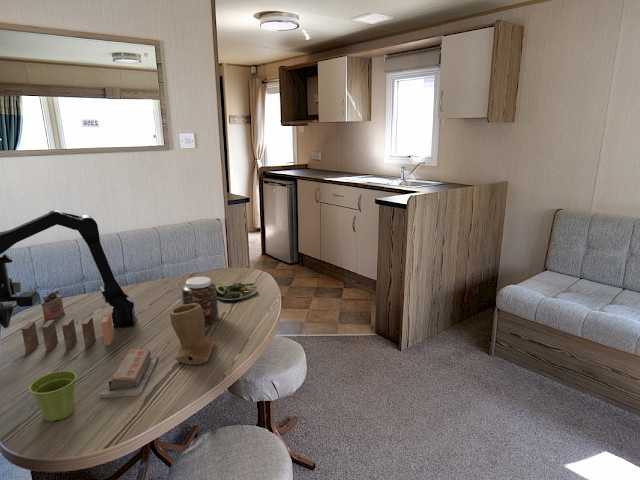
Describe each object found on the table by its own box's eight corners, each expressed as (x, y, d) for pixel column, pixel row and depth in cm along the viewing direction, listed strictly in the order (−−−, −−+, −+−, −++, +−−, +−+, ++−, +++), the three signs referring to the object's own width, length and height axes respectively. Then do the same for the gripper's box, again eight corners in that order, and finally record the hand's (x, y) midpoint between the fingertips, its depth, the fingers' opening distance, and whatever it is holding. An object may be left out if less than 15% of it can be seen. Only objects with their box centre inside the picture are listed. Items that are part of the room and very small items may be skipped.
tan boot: (180, 342, 133) (175, 298, 129) (217, 341, 134) (214, 297, 130) (165, 368, 118) (160, 319, 115) (207, 367, 119) (203, 318, 115)
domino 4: (95, 339, 135) (92, 316, 133) (90, 346, 131) (87, 323, 129) (90, 339, 135) (86, 317, 133) (85, 347, 130) (81, 323, 128)
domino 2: (58, 342, 133) (54, 319, 131) (52, 350, 129) (47, 326, 127) (52, 343, 133) (48, 320, 131) (46, 351, 128) (41, 327, 126)
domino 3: (77, 341, 134) (73, 318, 132) (71, 348, 130) (67, 325, 128) (71, 341, 134) (67, 318, 132) (65, 349, 129) (61, 325, 127)
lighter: (49, 323, 147) (45, 297, 144) (41, 322, 148) (36, 296, 145) (67, 314, 155) (63, 288, 152) (59, 313, 155) (55, 288, 153)
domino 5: (114, 337, 137) (110, 314, 135) (110, 344, 132) (106, 321, 130) (108, 338, 136) (105, 315, 134) (104, 345, 132) (101, 322, 130)
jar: (217, 311, 156) (214, 273, 152) (219, 324, 145) (216, 284, 142) (184, 315, 153) (180, 276, 149) (184, 329, 142) (180, 288, 138)
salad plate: (243, 282, 187) (242, 273, 186) (267, 293, 175) (267, 282, 174) (204, 294, 174) (203, 283, 173) (227, 306, 162) (226, 295, 161)
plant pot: (25, 421, 97) (19, 388, 95) (63, 398, 105) (57, 367, 103) (54, 431, 94) (48, 397, 91) (90, 406, 102) (85, 374, 100)
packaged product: (121, 347, 121) (156, 345, 123) (123, 362, 123) (158, 360, 124) (96, 383, 104) (138, 380, 105) (99, 400, 105) (140, 397, 106)
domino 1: (39, 344, 132) (34, 321, 130) (32, 352, 127) (27, 328, 125) (33, 345, 132) (29, 322, 130) (26, 353, 127) (21, 329, 125)
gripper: (43, 267, 132) (51, 313, 136) (-25, 272, 128) (-14, 319, 132) (26, 279, 122) (36, 328, 125) (-47, 284, 118) (-35, 335, 122)
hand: (6, 327), depth 127 cm, fingers closed
